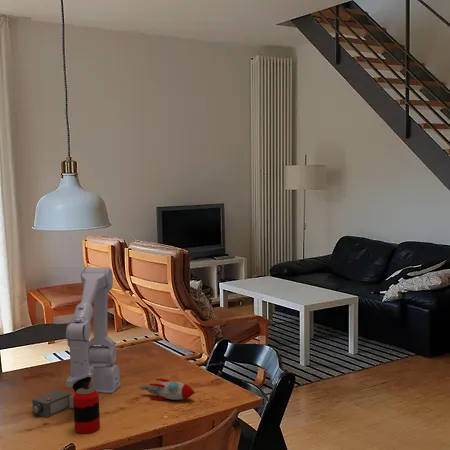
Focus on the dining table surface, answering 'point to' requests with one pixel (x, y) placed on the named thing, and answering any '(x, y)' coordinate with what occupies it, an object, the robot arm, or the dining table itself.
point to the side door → (71, 402)
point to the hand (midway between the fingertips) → (81, 400)
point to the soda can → (86, 410)
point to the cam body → (51, 403)
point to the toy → (169, 390)
